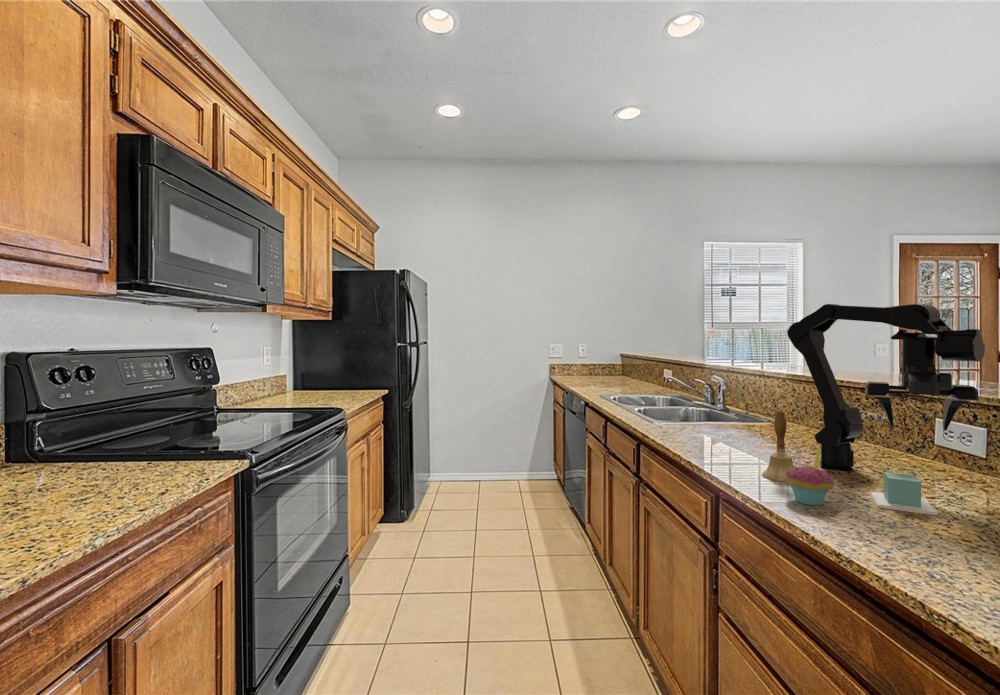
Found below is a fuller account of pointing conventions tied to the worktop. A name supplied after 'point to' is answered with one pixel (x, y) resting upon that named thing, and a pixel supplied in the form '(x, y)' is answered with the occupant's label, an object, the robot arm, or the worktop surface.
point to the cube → (902, 489)
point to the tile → (882, 503)
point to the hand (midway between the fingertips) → (917, 428)
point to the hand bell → (779, 453)
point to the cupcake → (809, 483)
